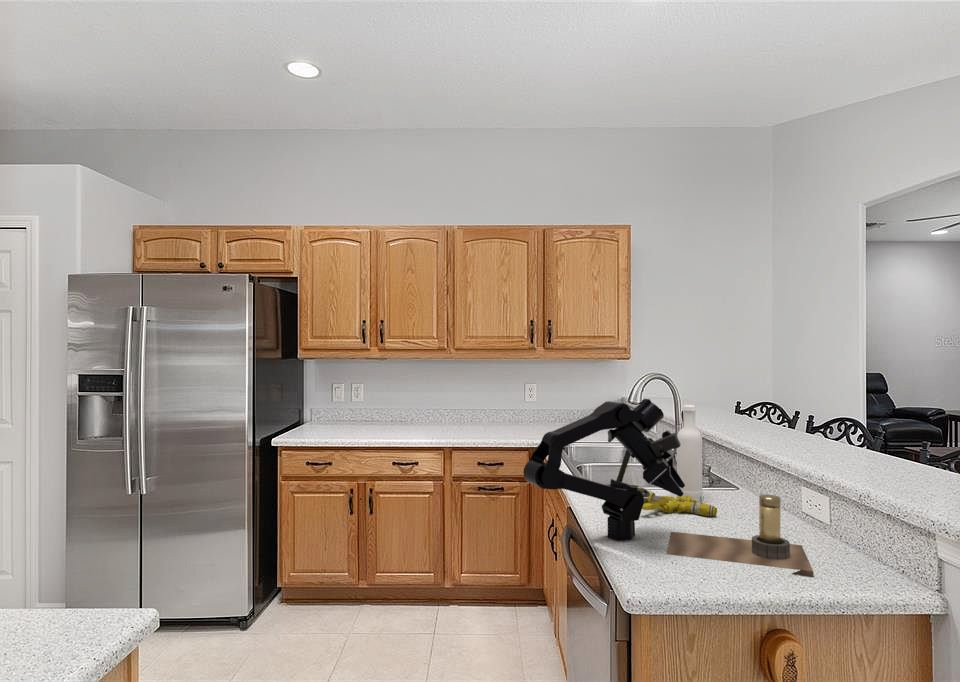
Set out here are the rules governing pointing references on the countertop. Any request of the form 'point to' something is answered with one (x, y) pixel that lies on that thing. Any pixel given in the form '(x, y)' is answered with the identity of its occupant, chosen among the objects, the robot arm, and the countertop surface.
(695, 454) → the bottle
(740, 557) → the board
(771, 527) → the brass fitting
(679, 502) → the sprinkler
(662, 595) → the countertop surface
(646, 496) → the butterfly valve
